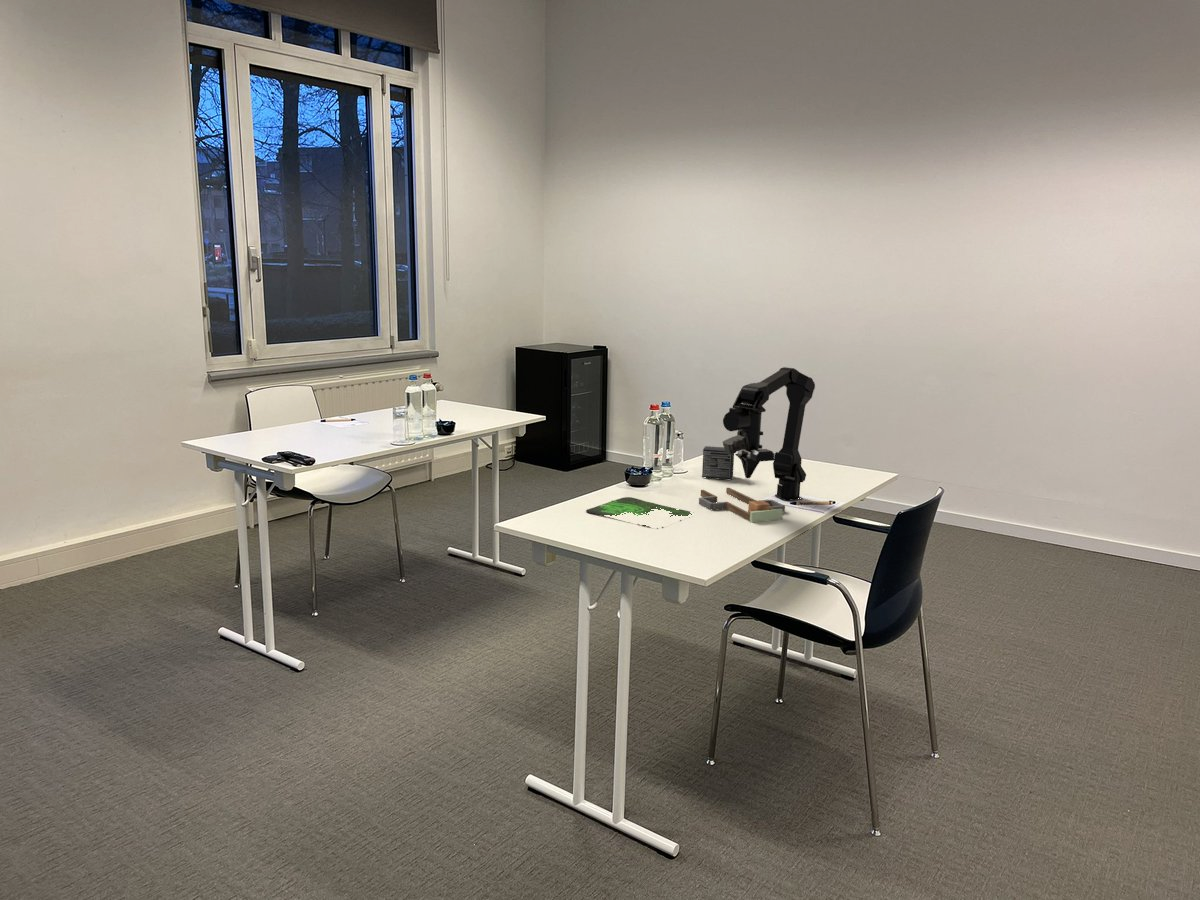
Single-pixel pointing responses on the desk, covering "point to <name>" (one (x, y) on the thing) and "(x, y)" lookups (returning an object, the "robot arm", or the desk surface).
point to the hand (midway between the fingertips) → (747, 478)
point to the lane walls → (730, 506)
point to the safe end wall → (766, 515)
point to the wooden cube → (758, 506)
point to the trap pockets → (710, 503)
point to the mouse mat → (632, 508)
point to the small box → (717, 463)
